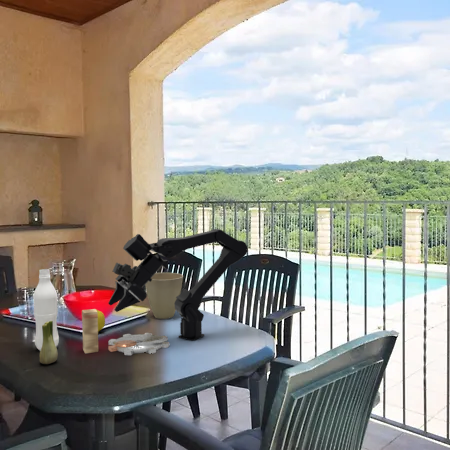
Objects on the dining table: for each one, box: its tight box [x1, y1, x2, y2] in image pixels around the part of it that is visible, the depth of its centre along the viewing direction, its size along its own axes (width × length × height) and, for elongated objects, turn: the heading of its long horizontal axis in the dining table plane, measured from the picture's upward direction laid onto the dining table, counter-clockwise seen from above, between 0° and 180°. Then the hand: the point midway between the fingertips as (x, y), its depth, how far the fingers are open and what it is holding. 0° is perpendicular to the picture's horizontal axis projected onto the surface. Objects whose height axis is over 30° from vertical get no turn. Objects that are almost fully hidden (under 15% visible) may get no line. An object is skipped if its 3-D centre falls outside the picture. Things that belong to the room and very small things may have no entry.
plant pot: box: [144, 272, 184, 320], centre depth 202 cm, size 15×15×16 cm
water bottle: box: [32, 268, 60, 352], centre depth 163 cm, size 7×7×25 cm
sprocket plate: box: [107, 332, 170, 356], centre depth 167 cm, size 19×19×1 cm
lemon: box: [96, 309, 106, 333], centre depth 182 cm, size 6×6×8 cm
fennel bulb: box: [39, 321, 59, 365], centre depth 151 cm, size 6×5×12 cm
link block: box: [81, 308, 99, 354], centre depth 162 cm, size 4×4×12 cm
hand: (112, 307), depth 164 cm, fingers open, 9 cm apart
